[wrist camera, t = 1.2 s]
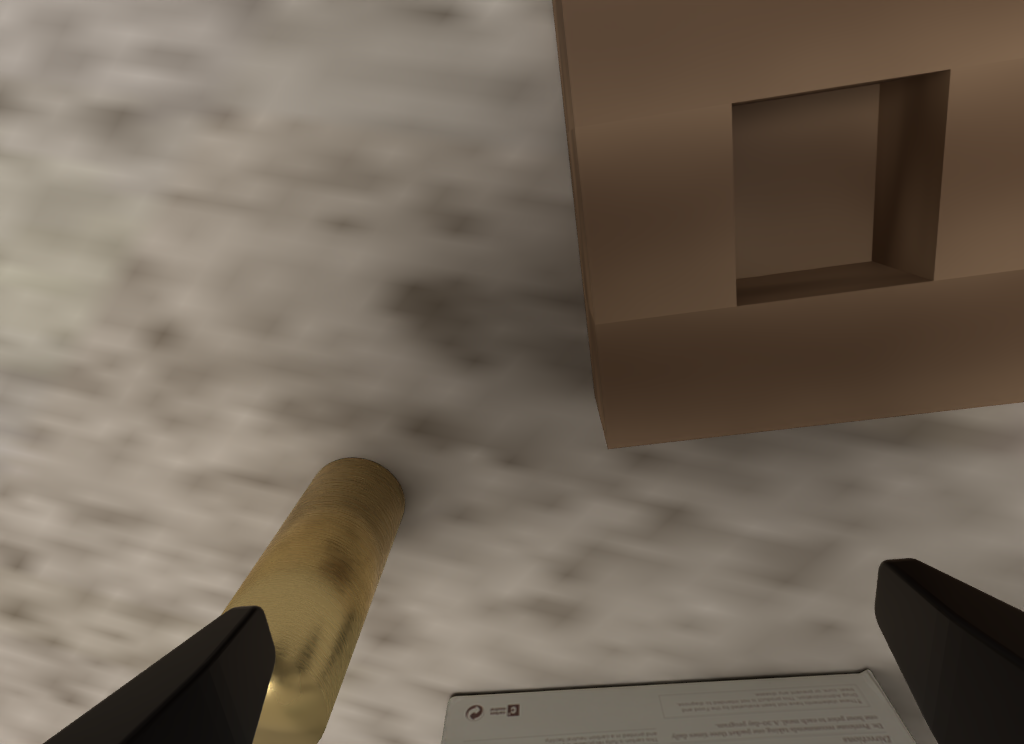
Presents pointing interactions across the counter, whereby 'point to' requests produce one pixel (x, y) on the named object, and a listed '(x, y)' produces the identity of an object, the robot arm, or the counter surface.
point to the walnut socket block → (795, 209)
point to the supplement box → (685, 714)
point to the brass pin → (321, 591)
